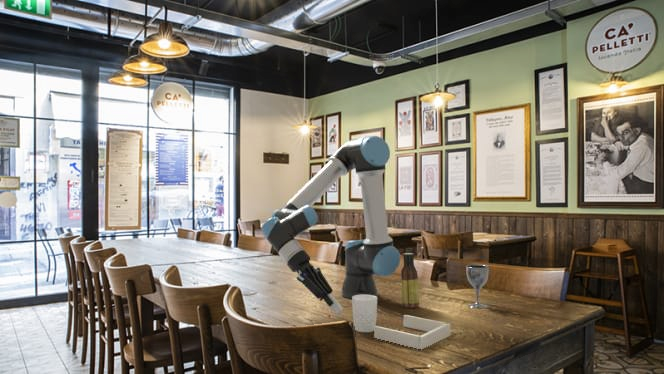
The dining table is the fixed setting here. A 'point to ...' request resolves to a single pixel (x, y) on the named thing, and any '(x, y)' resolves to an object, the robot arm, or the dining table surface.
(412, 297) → the sauce bottle
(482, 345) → the dining table surface
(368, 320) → the white cup
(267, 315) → the dining table surface
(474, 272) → the wine glass
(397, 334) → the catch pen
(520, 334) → the dining table surface
